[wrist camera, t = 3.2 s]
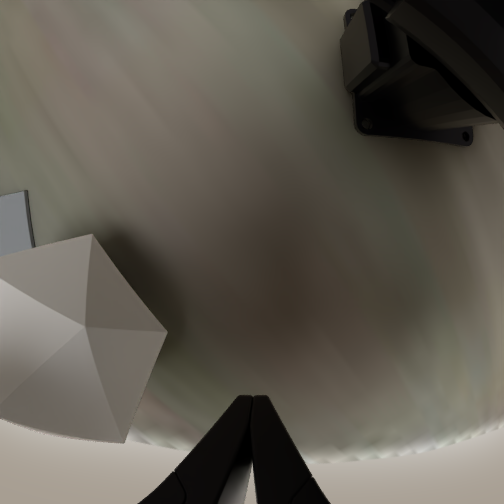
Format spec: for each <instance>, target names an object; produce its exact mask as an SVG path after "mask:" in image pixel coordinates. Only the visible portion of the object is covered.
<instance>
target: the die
mask: <svg viewBox="0 0 504 504" xmlns="http://www.w3.org/2000/svg"><path fill="white" fill-rule="evenodd" d="M167 333H168V332H167V330H166V329H165V328H164V327H163V326H162V325H161V323H160V322H159V321H158V320H157V319H156V317H155V316H154V315H153V314H152V313H151V311H150V310H149V309H148V308H147V306H146V305H145V304H144V303H143V301H142V300H141V299H140V298H139V296H138V295H137V294H136V293H135V291H134V290H133V289H132V287H131V286H130V285H129V284H128V282H127V281H126V280H125V278H124V277H123V276H122V274H121V273H120V272H119V270H118V269H117V268H116V266H115V265H114V263H113V262H112V261H111V259H110V258H109V257H108V255H107V254H106V252H105V251H104V250H103V248H102V247H101V245H100V244H99V242H98V241H97V239H96V238H95V237H94V235H93V234H89V235H85V236H80V237H76V238H72V239H67V240H63V241H59V242H55V243H51V244H47V245H43V246H39V247H35V248H31V249H27V250H23V251H20V252H16V253H12V254H8V255H5V256H1V257H0V419H2V420H5V421H7V422H10V423H13V424H15V425H18V426H21V427H24V428H27V429H30V430H33V431H36V432H39V433H42V434H46V435H52V436H58V437H65V438H71V439H79V440H87V441H97V442H108V443H125V440H126V437H127V435H128V432H129V429H130V426H131V424H132V421H133V418H134V416H135V413H136V410H137V408H138V405H139V403H140V400H141V397H142V395H143V392H144V390H145V387H146V385H147V382H148V380H149V377H150V375H151V372H152V370H153V367H154V365H155V362H156V360H157V357H158V355H159V352H160V350H161V347H162V345H163V343H164V340H165V338H166V335H167Z"/></svg>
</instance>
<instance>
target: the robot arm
mask: <svg viewBox="0 0 504 504" xmlns="http://www.w3.org/2000/svg"><path fill="white" fill-rule="evenodd" d="M350 16H353V18H352V19H351V17H350ZM343 20H344V26H345V32H344V34H343V36H342V37H341V39H340V45H341V54H342V63H343V73H344V84H345V88H346V89H347V90H348V91H349V92H352V99H353V114H354V126H355V129H356V130H357V132H358V133H360V134H361V135H365V136H378V137H391V138H401V139H411V140H420V141H428V142H436V143H443V144H450V145H456V146H470V145H471V144H472V142H473V129H472V126H475V125H484V124H494V123H499V124H500V125H501V127H502V128H503V129H504V0H364V1H363V2H362V3H361V4H360V6H359V7H358V9H349V10H347V11H346V13H345V15H344V19H343ZM364 119H365V120H367V121H368V122H369V124H370V127H369V129H368V130H367V129H365V128H364V127H363V126H362V120H364ZM462 133H464V135H465V141H464V140H463V138H462ZM252 463H253V473H254V483H255V492H256V502H257V504H331V503H330V502H329V501H328V499H327V498H326V496H325V495H324V493H323V492H322V491H321V489H320V487H319V486H318V484H317V482H316V481H315V479H314V478H313V477H312V474H311V472H310V471H309V469H308V467H307V465H306V464H305V462H304V460H303V458H302V457H301V455H300V453H299V451H298V450H297V448H296V446H295V444H294V442H293V441H292V439H291V437H290V435H289V433H288V432H287V430H286V428H285V426H284V424H283V423H282V421H281V419H280V417H279V415H278V413H277V411H276V410H275V408H274V406H273V404H272V402H271V400H270V398H269V397H268V396H267V395H255V396H254V397H253V396H251V395H239V396H237V398H236V399H235V400H234V401H233V403H232V404H231V405H230V406H229V407H228V409H227V410H226V411H225V412H224V413H223V415H222V416H221V417H220V418H219V419H218V421H217V422H216V423H215V424H214V425H213V427H212V428H211V429H210V430H209V431H208V432H207V434H206V435H205V436H204V437H203V438H202V439H201V441H200V442H199V443H198V444H197V445H196V446H195V447H194V449H193V450H192V451H191V452H190V453H189V454H188V455H187V456H186V457H185V459H184V460H183V461H182V462H181V463H180V464H179V465H178V466H177V467H176V468H175V470H174V471H175V472H172V473H171V474H170V475H169V476H168V477H167V478H166V479H165V480H164V481H163V482H162V483H161V484H160V485H159V486H158V487H157V488H156V489H155V490H154V491H153V492H152V493H150V494H149V495H148V496H147V497H145V498H144V499H143V500H142V501H140V502H139V503H138V504H244V501H245V496H246V492H247V487H248V482H249V477H250V473H251V467H252Z"/></svg>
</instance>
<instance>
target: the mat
mask: <svg viewBox="0 0 504 504" xmlns="http://www.w3.org/2000/svg"><path fill="white" fill-rule="evenodd" d="M31 248H35V245H34V239H33V233H32V227H31V220H30V212H29V204H28V194H27V190H26V191H22V192H17V193H13V194H9V195H4V196H0V257H1V256H5V255H8V254H12V253H16V252H20V251H23V250H27V249H31Z"/></svg>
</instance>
